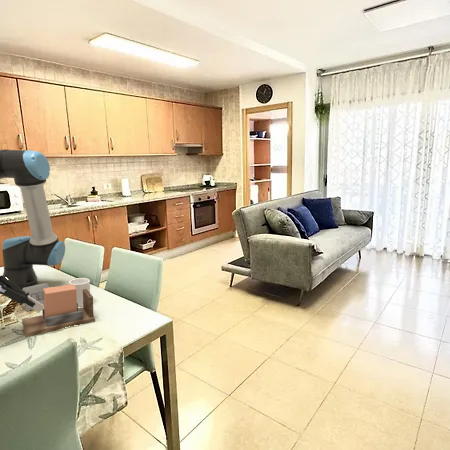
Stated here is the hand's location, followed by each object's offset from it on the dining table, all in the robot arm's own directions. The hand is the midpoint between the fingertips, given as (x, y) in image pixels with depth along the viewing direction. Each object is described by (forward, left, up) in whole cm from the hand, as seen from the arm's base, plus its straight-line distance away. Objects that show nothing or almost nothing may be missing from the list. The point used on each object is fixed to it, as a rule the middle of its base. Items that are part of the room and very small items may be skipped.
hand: (41, 309), depth 116 cm
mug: (-19, +13, -7) cm, 24 cm away
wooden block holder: (-1, +5, -7) cm, 9 cm away
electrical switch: (-19, -3, -7) cm, 21 cm away
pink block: (-1, +6, -5) cm, 8 cm away
